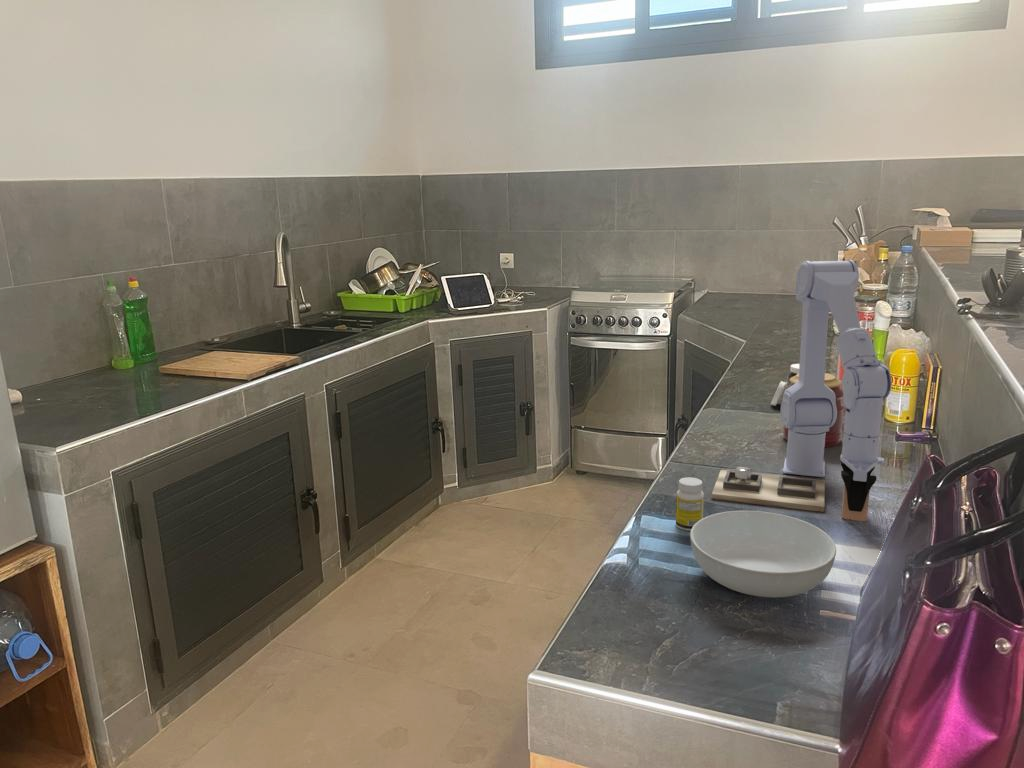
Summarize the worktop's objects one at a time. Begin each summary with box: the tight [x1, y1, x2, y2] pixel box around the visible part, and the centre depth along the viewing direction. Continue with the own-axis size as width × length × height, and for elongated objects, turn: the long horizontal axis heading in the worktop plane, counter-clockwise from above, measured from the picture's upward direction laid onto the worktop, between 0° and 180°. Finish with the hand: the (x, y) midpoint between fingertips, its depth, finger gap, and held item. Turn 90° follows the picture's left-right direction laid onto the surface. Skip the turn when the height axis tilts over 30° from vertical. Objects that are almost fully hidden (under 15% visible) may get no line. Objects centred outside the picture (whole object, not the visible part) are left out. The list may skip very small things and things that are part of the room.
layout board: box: [711, 469, 826, 513], centre depth 152 cm, size 14×20×2 cm
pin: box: [734, 466, 752, 484], centre depth 154 cm, size 3×3×3 cm
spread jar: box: [770, 363, 800, 407], centre depth 208 cm, size 12×11×12 cm
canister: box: [781, 372, 845, 448], centre depth 181 cm, size 13×13×18 cm
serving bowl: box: [689, 510, 837, 598], centre depth 118 cm, size 21×21×7 cm
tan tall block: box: [841, 483, 871, 522], centre depth 140 cm, size 4×4×7 cm
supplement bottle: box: [675, 476, 705, 532], centre depth 137 cm, size 5×5×8 cm
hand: (854, 505), depth 140 cm, fingers closed on tan tall block, 4 cm apart
